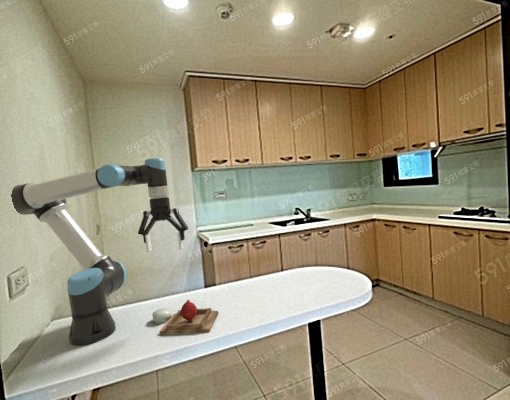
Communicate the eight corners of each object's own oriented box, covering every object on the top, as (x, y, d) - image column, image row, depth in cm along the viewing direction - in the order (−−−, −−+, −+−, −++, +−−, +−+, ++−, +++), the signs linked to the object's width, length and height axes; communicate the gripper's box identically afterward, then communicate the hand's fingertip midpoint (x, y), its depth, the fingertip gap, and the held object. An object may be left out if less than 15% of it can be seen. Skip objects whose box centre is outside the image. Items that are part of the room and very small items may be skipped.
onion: (183, 326, 109) (180, 304, 108) (181, 319, 114) (178, 299, 113) (199, 321, 111) (196, 300, 110) (196, 315, 116) (193, 295, 116)
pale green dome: (150, 324, 116) (149, 316, 116) (157, 316, 123) (156, 308, 123) (167, 323, 115) (166, 315, 115) (174, 314, 122) (173, 307, 122)
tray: (159, 334, 107) (159, 327, 107) (174, 316, 121) (173, 309, 121) (209, 331, 105) (208, 324, 105) (218, 313, 119) (217, 307, 119)
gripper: (124, 201, 119) (131, 254, 120) (185, 195, 116) (192, 249, 117) (134, 199, 127) (140, 249, 128) (192, 193, 123) (198, 245, 125)
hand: (165, 249), depth 123 cm, fingers open, 13 cm apart
